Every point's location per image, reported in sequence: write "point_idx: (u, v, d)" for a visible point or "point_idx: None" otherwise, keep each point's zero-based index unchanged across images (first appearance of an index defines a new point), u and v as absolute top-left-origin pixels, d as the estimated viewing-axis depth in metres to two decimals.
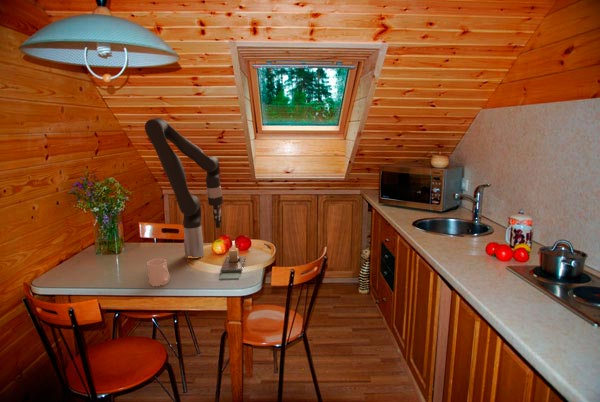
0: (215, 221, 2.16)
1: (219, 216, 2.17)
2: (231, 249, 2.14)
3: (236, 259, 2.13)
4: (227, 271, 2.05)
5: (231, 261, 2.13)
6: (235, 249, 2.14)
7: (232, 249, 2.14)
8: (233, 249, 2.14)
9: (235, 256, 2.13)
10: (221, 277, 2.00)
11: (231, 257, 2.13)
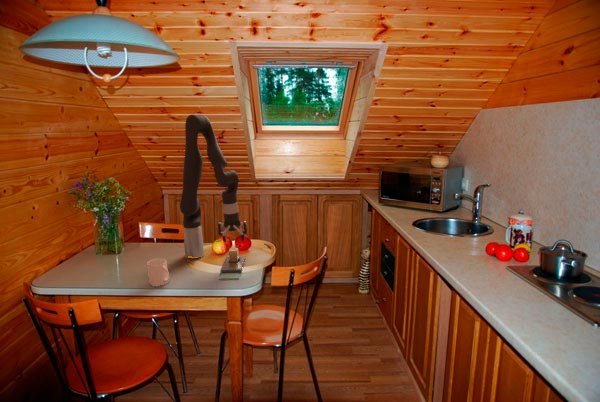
0: (242, 235, 2.11)
1: None
2: (231, 249, 2.14)
3: (236, 259, 2.13)
4: (227, 271, 2.05)
5: (231, 261, 2.13)
6: (235, 249, 2.14)
7: (232, 249, 2.14)
8: (233, 249, 2.14)
9: (235, 256, 2.13)
10: (221, 277, 2.00)
11: (231, 257, 2.13)
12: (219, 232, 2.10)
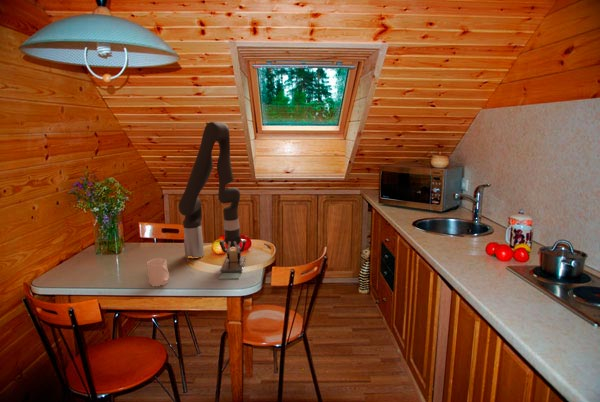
0: (238, 253, 2.13)
1: None
2: (231, 249, 2.14)
3: (236, 259, 2.13)
4: (227, 271, 2.05)
5: (231, 261, 2.13)
6: (235, 249, 2.14)
7: (232, 249, 2.14)
8: (233, 249, 2.14)
9: (235, 256, 2.13)
10: (221, 277, 2.00)
11: (231, 257, 2.13)
12: (224, 249, 2.13)
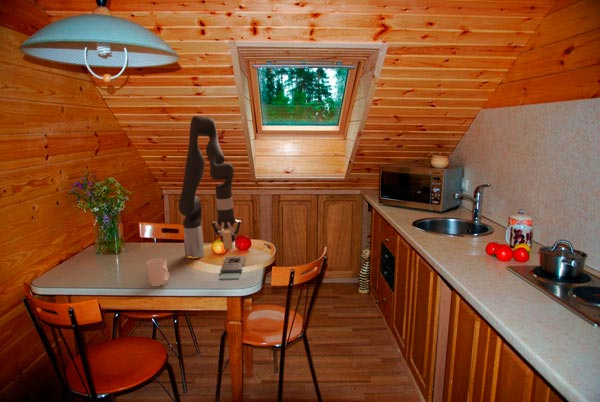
0: (232, 235, 1.96)
1: None
2: (225, 231, 1.97)
3: (230, 242, 1.96)
4: (227, 271, 2.05)
5: (225, 244, 1.96)
6: (229, 231, 1.96)
7: (226, 231, 1.97)
8: (227, 231, 1.97)
9: (229, 238, 1.95)
10: (221, 277, 2.00)
11: (225, 240, 1.95)
12: (216, 231, 1.95)
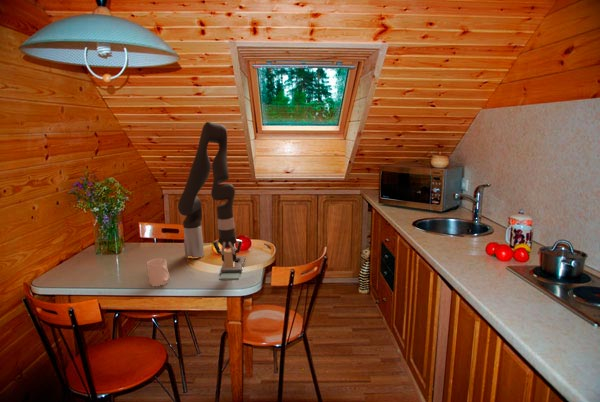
0: (234, 254, 1.98)
1: None
2: (226, 250, 1.99)
3: (231, 261, 1.98)
4: (227, 271, 2.05)
5: (226, 263, 1.98)
6: (230, 250, 1.99)
7: (227, 250, 1.99)
8: (228, 250, 1.99)
9: (230, 258, 1.98)
10: (221, 277, 2.00)
11: (226, 259, 1.98)
12: (218, 250, 1.97)
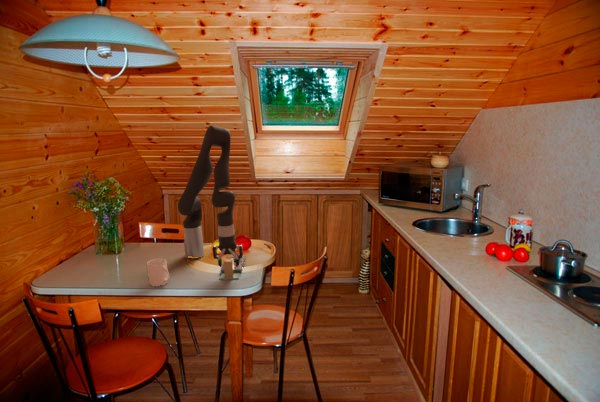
0: (237, 259, 1.99)
1: None
2: (226, 259, 2.00)
3: (231, 270, 1.99)
4: None
5: (226, 272, 1.99)
6: (230, 259, 2.00)
7: (227, 259, 2.00)
8: (228, 259, 2.00)
9: (230, 267, 1.99)
10: (221, 277, 2.00)
11: (226, 268, 1.99)
12: (214, 256, 1.98)
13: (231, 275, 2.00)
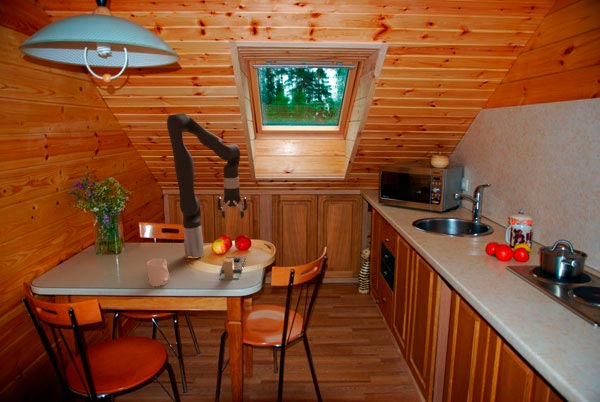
0: (241, 211, 2.06)
1: None
2: (226, 259, 2.00)
3: (231, 270, 1.99)
4: None
5: (226, 272, 1.99)
6: (230, 259, 2.00)
7: (227, 259, 2.00)
8: (228, 259, 2.00)
9: (230, 267, 1.99)
10: (221, 277, 2.00)
11: (226, 268, 1.99)
12: (218, 207, 2.06)
13: (231, 275, 2.00)
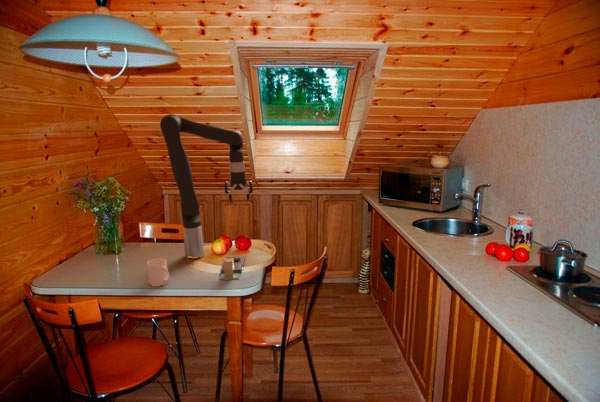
0: (247, 194, 2.18)
1: None
2: (226, 259, 2.00)
3: (231, 270, 1.99)
4: None
5: (226, 272, 1.99)
6: (230, 259, 2.00)
7: (227, 259, 2.00)
8: (228, 259, 2.00)
9: (230, 267, 1.99)
10: (221, 277, 2.00)
11: (226, 268, 1.99)
12: (225, 190, 2.17)
13: (231, 275, 2.00)
